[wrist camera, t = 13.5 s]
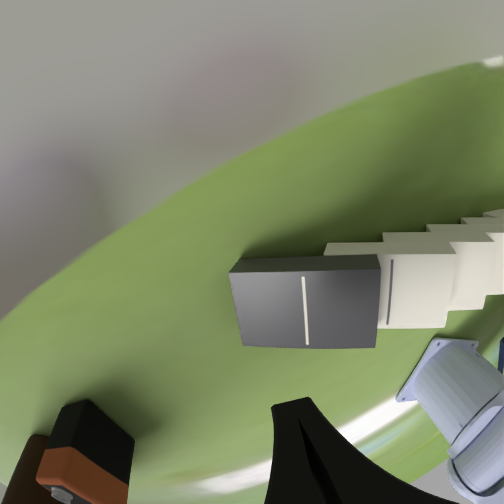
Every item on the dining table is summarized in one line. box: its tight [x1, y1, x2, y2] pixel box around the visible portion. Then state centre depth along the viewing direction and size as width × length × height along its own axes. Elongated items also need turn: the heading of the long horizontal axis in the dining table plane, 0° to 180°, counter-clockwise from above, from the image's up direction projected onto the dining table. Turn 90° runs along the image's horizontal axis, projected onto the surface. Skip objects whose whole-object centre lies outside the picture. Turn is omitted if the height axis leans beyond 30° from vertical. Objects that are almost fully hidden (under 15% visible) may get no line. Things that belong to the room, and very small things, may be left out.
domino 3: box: [382, 232, 495, 311], centre depth 17 cm, size 2×5×8 cm
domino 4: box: [461, 217, 504, 225], centre depth 18 cm, size 2×5×8 cm
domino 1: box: [229, 254, 381, 349], centre depth 16 cm, size 2×5×8 cm
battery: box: [36, 400, 135, 504], centre depth 16 cm, size 4×7×10 cm, turn 25°
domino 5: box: [426, 224, 504, 295], centre depth 17 cm, size 2×5×8 cm
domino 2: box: [323, 242, 457, 328], centre depth 17 cm, size 2×5×8 cm
